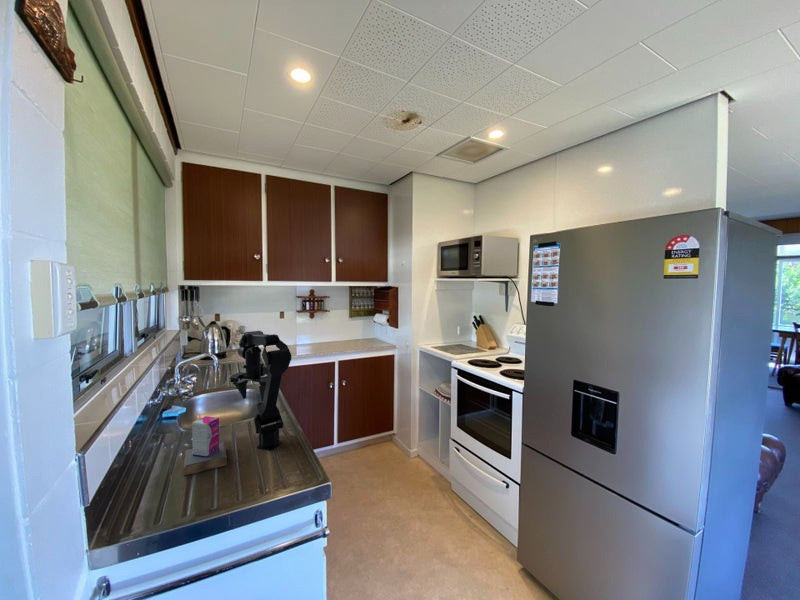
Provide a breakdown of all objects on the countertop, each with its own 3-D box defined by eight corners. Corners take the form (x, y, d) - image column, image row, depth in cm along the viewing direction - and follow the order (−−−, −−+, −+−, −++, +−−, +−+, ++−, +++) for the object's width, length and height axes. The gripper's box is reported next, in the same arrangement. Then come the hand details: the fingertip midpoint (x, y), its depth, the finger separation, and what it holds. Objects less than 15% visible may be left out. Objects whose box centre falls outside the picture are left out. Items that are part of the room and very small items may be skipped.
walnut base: (224, 449, 121) (224, 441, 121) (227, 465, 111) (226, 456, 111) (185, 458, 115) (185, 449, 115) (184, 475, 105) (183, 466, 104)
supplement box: (207, 458, 109) (206, 424, 109) (192, 456, 111) (191, 422, 110) (220, 449, 115) (219, 417, 114) (205, 447, 116) (204, 415, 116)
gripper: (285, 359, 139) (285, 395, 140) (249, 356, 145) (249, 391, 146) (267, 365, 129) (267, 405, 129) (228, 361, 134) (229, 399, 135)
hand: (253, 399), depth 135 cm, fingers open, 9 cm apart
